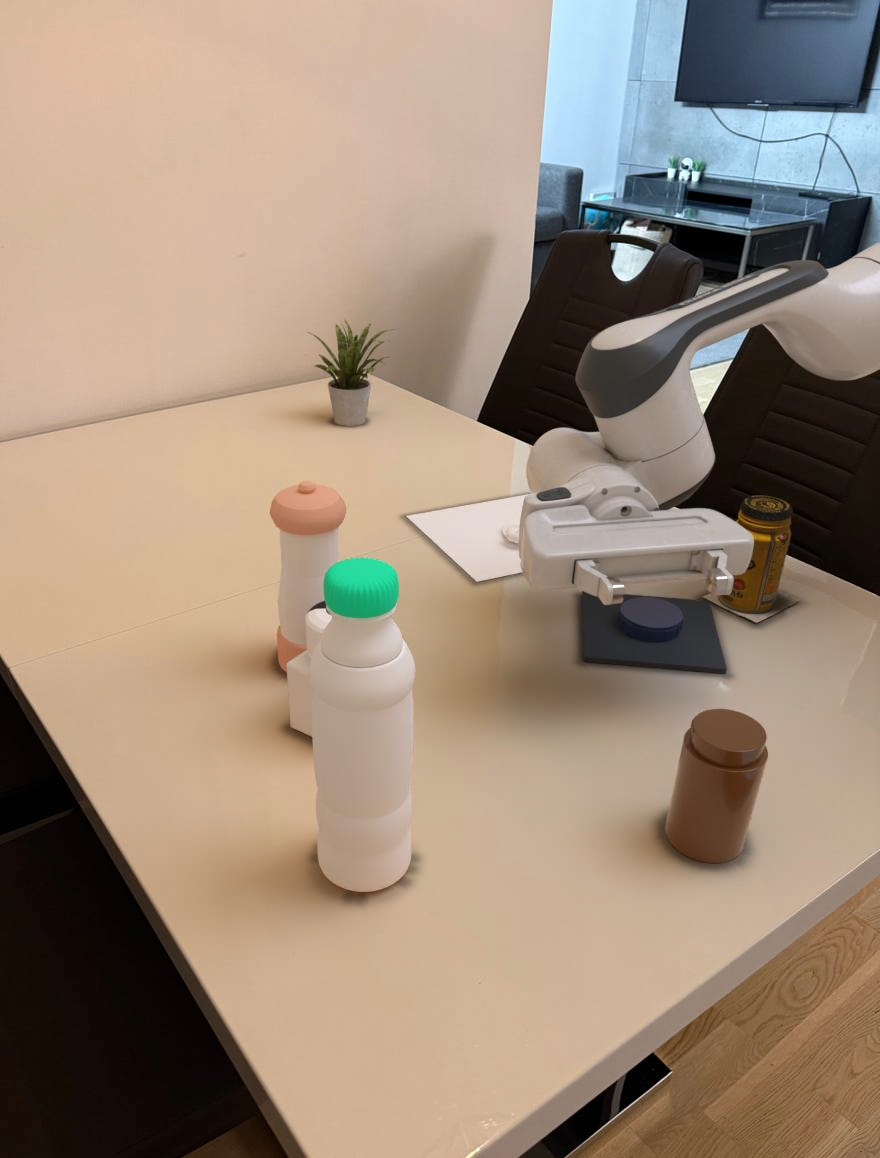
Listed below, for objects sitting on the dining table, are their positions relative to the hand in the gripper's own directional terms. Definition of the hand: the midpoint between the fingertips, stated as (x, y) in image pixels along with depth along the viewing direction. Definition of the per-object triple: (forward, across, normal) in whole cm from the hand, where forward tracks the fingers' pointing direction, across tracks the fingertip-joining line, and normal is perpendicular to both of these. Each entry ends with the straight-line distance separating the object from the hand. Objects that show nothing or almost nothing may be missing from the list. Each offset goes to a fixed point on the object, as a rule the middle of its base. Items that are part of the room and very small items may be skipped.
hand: (670, 592), depth 77 cm
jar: (+12, 0, -15) cm, 20 cm away
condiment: (-22, -22, -16) cm, 35 cm away
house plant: (-89, +13, -16) cm, 92 cm away
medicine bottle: (-7, +26, -16) cm, 31 cm away
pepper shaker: (-18, +28, -16) cm, 37 cm away
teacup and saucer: (-44, 0, -16) cm, 46 cm away
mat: (-18, -8, -15) cm, 25 cm away
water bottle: (+11, +27, -15) cm, 33 cm away
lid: (-18, -8, -13) cm, 24 cm away
